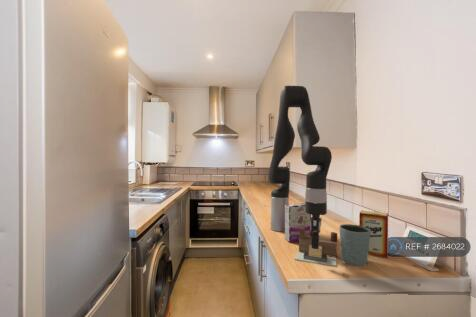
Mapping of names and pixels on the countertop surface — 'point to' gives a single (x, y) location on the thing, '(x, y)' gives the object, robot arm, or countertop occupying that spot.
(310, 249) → the lever cap
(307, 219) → the candy bar box
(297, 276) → the countertop surface
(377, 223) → the baking soda box
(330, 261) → the mat
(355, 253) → the teal cup
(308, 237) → the body
